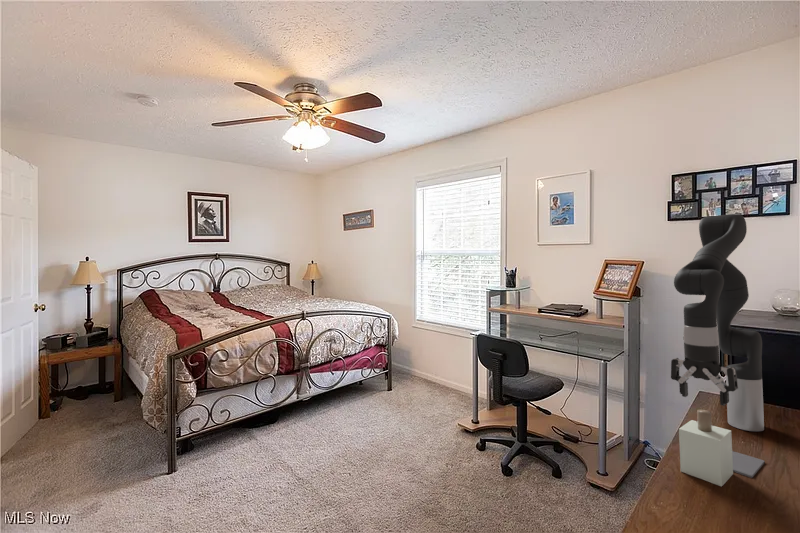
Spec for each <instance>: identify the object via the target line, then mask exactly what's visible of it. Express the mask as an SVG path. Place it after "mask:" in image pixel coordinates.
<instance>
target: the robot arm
mask: <svg viewBox="0 0 800 533" xmlns="http://www.w3.org/2000/svg"><path fill="white" fill-rule="evenodd" d="M747 228H748V227H747V222H746V219H745V217H744V216H743V215H741V214H739V213H729V214H722V215H721V214H720V215H719V214H718V215H712V216H705V217H703V218H701V219H700V220H699V224H698V232H699V238H700V242H701V245H702V247H701V248H699V249H698V250H697V252H696V254H694V257H693V259H692V261H690V262H689V263H687V264H686V265H684V266H683V267H682V268H681V269H679V270H678V271H677V273H676V274H675V276H674V278H673V286H674V289H675V290H676V291H677V292H678V293H680V294H682V295H686V296H687V295H688V296H705V297H704V300H703V301H701V302H695V303H687V304H686V305H684V307H683V325H684V326H683V337H682V338H683V350H684V354H683V355H684V359H683V360H682V359H679V357H676V358H672V359H671V361H670V362H671V363H670V379H671V380H672V381H673V380H674V381H676V382H678V385H679V386H678V387H679V394H680V395H681V396H682V397H684V398H687V397H689V385H688V384H689V383H688V382H687V381H688V380H689V379H690V378H691V377H693V378H694V379H702V380H705V381H711V382H712V383H713V384H714V385H715V386H716V387H717V389H719V390H720V391H719V404H720V406H723V407H725V406H726V408H727V409H726V411H727V423H728V424H729V425H730V426H731V427H733V428H737V429H738V430H739V429H740V430H742V431H749V432H763V431H764V430H765V422H764V421H765V420H764V419H765V417H764V416H765V415H764V414H765V413H764V396H763V395H764V392H763V391H764V390H763V387H764V386H763V364H762V363H763V362H762V360H763V359H762V357H763V340H762V339H763V338H762V336H761V333H759V331H757V330H749V329H748V330H747V329H739V328H732V327H731V323H732V321H733V319H734V318H735V316H736V315H737V314H738V313H739V311H740V310H742V308H743V307H744V306H745V305H746V303H747V302H748V300H749V295H750V294H749V288H748V281H747V278H746V276H745V275H744V273H743V272H742V271H741V270H740V269H739V268H737V267H736V266H735V265H734V264H733V263H732V262H730V261H729V260H728V258H729V257H730V255H731V254H732V253H733V252H734V251H735V250H736V249H737V248H738V247H739V246H740V245H741V243H743V242H744V240H745V238H746V235H747ZM720 352H722V353H723V354H724V355H727V356H728V355H729V356H734V357H742V358H747V360H746V361H744V362H742V363H741V362H740V363H735V364H728V365H726V366H722V364H721V360H720ZM682 366H683V367H684V369H686V372H685V373H684V374H683V375H682V376H680V367H682ZM721 372H723V373H724V375H725V381H724V378H723V377H722V376H721V375H720V373H721Z"/></svg>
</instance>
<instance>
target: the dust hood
mask: <svg viewBox="0 0 800 533" xmlns="http://www.w3.org/2000/svg"><path fill="white" fill-rule="evenodd" d="M696 414H697V415H696V416H697V417H696V418H697V421H696V420H693V419H691V420H689V421H688V422H687V423H685V424H683V425H682V426H681V427H679V428H678V438H679V442H678V443H679V462H680V464H679V465H680V466H679V467H680V472H681V473H685V474H686V475H689V476H692V477H695V478H698V479H700V480H703V481H706V482H709V483H711V484H713V485H716V486H719V487H721V488H722V486H724V485H725V484H726V482H728V480H729V479H730V478H731V477H732V476H733V475H734V472H733V460H732V451H733V440H732V436H733V435H732V430H730V429H727V428H723V427H719V426H716V425H712V423H713V422H712V412H711V411H710V410H707V409H697V410H696Z"/></svg>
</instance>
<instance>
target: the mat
mask: <svg viewBox="0 0 800 533" xmlns="http://www.w3.org/2000/svg"><path fill="white" fill-rule="evenodd" d="M732 460H733V473H737V474H739V475H742V476H745V477H748V478H750V479H752V478H754V476H755V475H756V474H757V473H758V472H759V470H760V469H761V468H762V467H763V466H764V465H765V460H763V459H762V458H761V459H760V458H757V457H754V456H751V455H748V454H745V453H741V452H737V451H734V450H732Z"/></svg>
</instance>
